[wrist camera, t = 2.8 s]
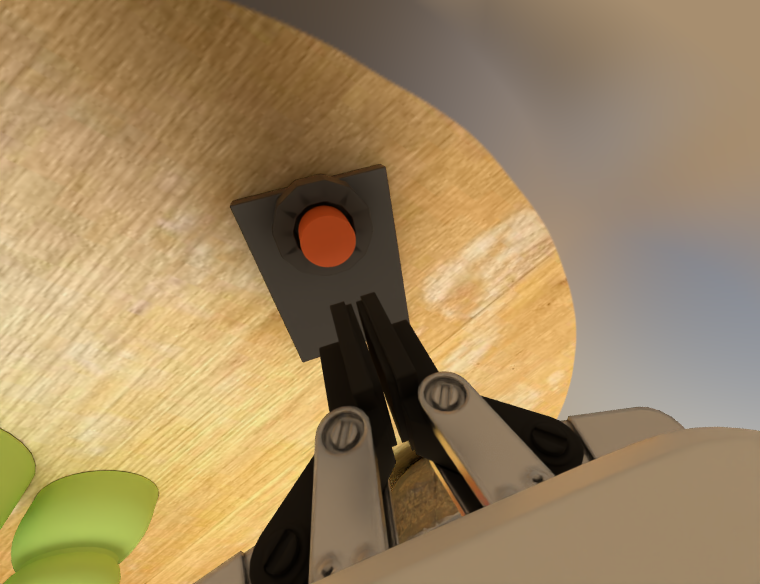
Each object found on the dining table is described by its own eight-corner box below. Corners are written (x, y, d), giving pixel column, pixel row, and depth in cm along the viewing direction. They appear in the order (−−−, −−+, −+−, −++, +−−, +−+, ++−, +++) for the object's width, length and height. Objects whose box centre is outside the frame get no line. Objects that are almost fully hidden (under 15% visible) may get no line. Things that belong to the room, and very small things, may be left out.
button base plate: (227, 192, 19) (220, 205, 16) (379, 155, 20) (393, 162, 18) (301, 353, 27) (304, 378, 25) (405, 319, 28) (417, 339, 26)
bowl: (409, 414, 36) (447, 503, 28) (522, 420, 46) (575, 489, 37) (347, 509, 44) (362, 600, 36) (453, 498, 53) (485, 569, 45)
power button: (291, 213, 18) (292, 224, 16) (342, 199, 18) (349, 209, 17) (307, 259, 20) (310, 274, 18) (354, 246, 20) (360, 259, 19)
